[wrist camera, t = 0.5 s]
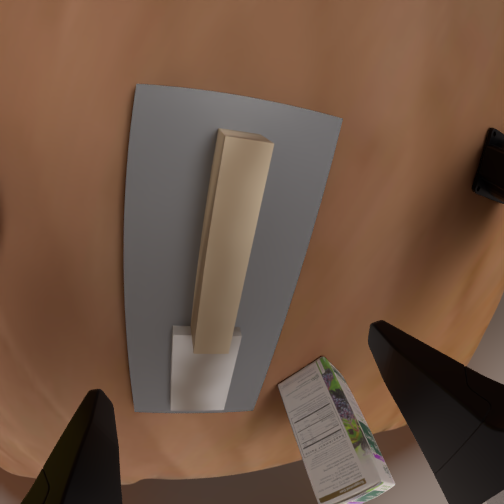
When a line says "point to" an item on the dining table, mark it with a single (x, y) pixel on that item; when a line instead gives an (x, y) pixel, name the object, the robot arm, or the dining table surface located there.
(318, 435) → the syrup box
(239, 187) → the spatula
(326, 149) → the charcoal board
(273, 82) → the dining table surface
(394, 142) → the dining table surface
